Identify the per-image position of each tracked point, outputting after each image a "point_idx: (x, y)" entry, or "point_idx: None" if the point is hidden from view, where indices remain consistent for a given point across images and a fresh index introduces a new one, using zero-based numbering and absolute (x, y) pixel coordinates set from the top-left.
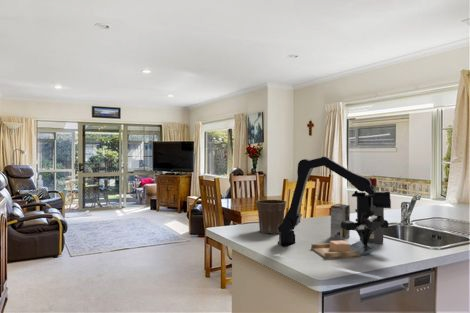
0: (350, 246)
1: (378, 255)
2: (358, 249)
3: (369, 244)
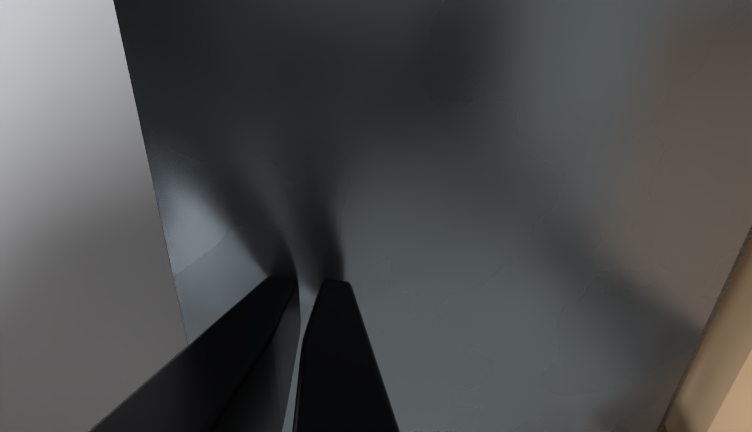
0: (558, 419)
1: (113, 7)
2: (595, 178)
3: (197, 254)
